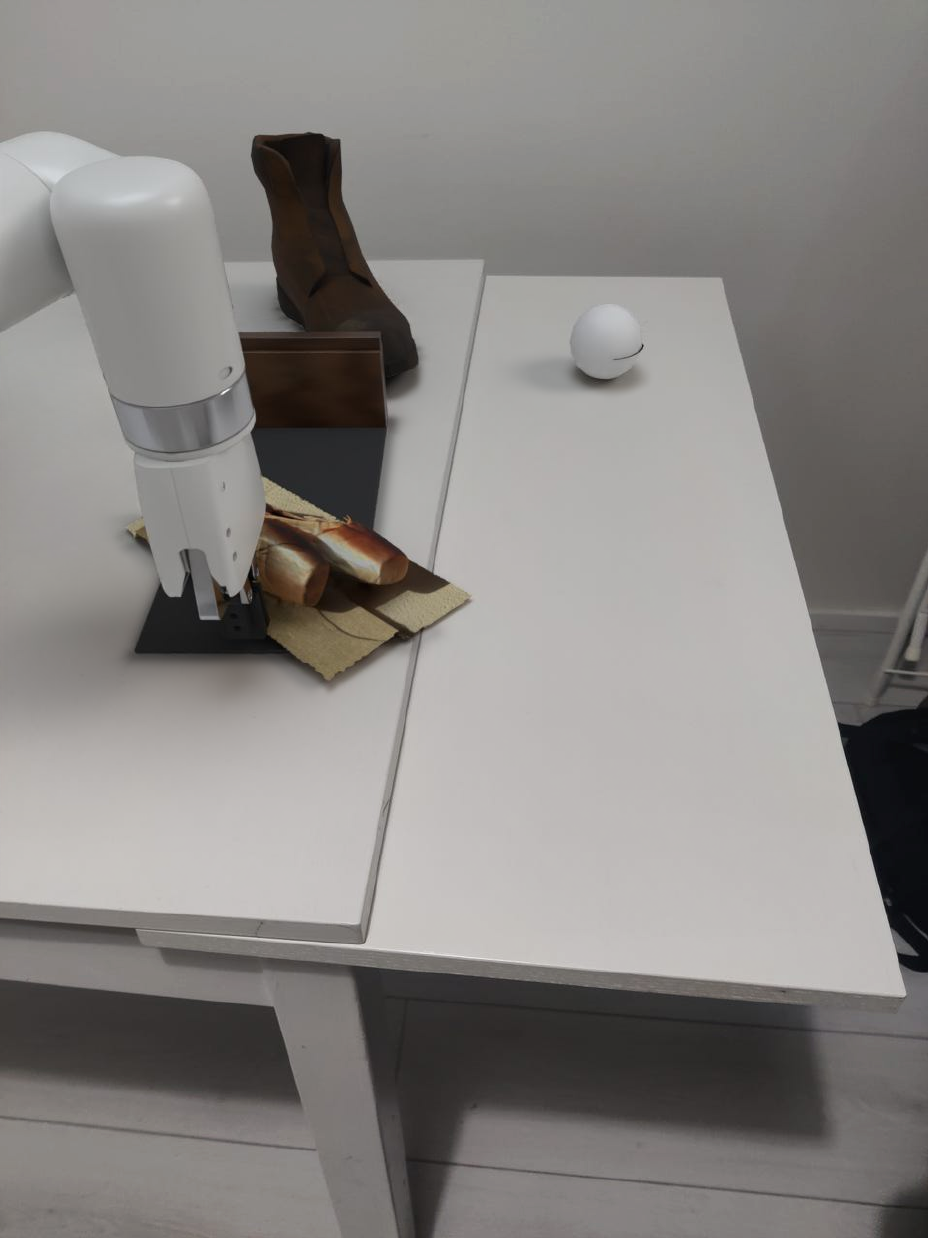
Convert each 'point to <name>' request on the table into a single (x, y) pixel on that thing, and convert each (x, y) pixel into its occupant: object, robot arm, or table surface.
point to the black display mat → (311, 469)
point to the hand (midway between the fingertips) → (246, 630)
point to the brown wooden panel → (316, 379)
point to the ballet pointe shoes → (337, 584)
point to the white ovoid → (606, 341)
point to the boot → (323, 247)
